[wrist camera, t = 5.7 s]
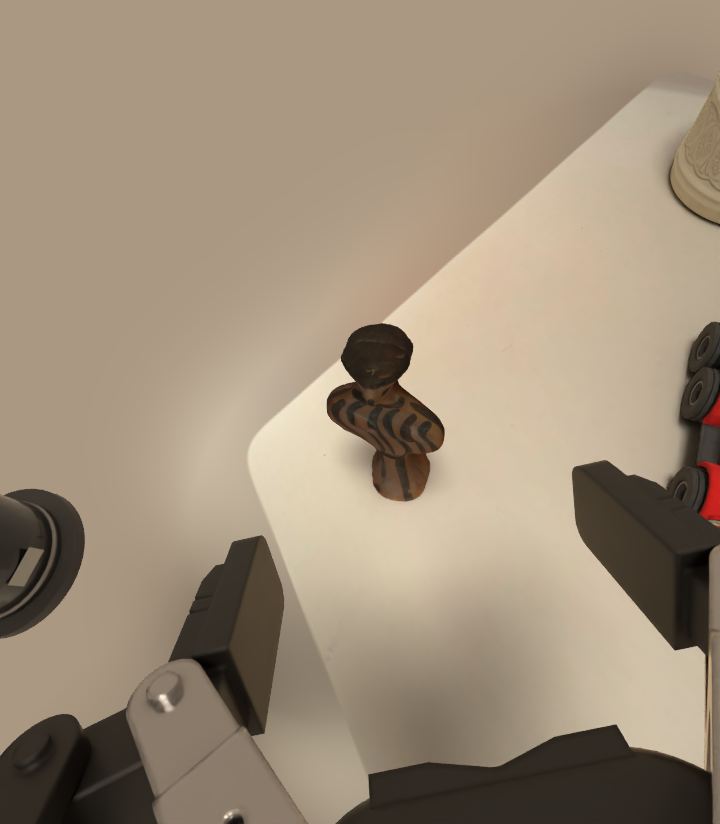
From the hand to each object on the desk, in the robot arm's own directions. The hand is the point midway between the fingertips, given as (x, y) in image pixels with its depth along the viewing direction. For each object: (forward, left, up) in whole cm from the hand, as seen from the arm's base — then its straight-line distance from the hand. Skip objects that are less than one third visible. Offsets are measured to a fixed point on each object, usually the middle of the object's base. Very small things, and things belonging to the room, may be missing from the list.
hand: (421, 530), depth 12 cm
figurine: (+2, +9, -23) cm, 25 cm away
